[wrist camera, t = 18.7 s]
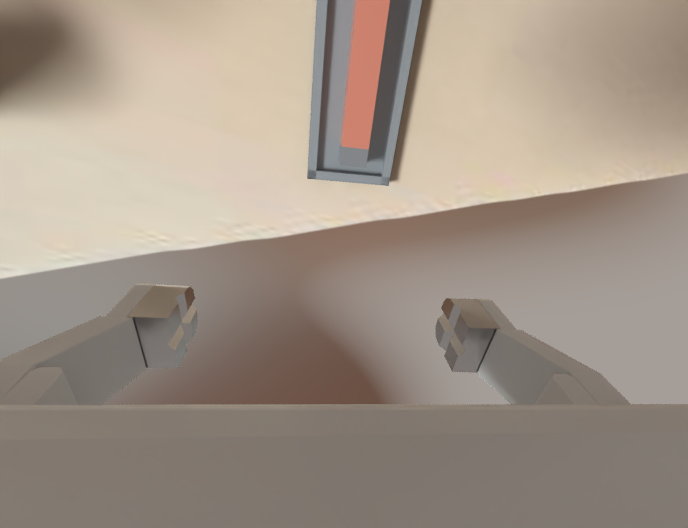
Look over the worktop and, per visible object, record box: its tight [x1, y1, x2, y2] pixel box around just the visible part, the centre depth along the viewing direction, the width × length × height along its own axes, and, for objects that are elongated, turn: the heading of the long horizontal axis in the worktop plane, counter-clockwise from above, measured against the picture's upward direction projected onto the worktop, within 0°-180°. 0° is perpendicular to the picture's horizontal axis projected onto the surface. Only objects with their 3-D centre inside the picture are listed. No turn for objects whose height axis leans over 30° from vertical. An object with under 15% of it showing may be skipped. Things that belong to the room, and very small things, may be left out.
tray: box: [307, 0, 422, 186], centre depth 33 cm, size 10×24×2 cm, turn 174°
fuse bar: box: [338, 0, 390, 168], centre depth 32 cm, size 3×18×3 cm, turn 174°
